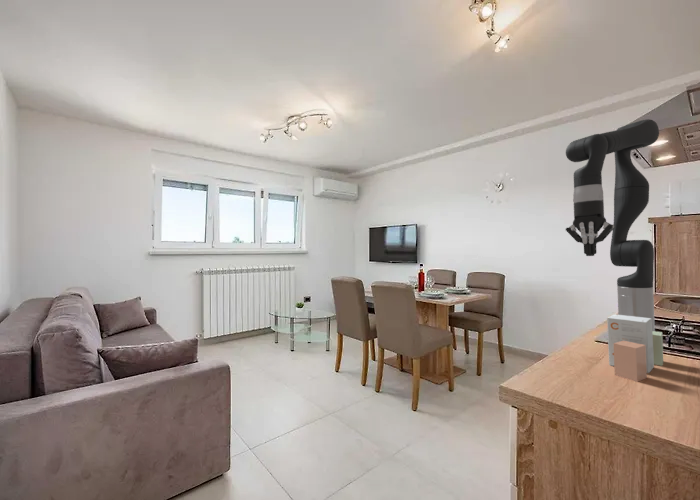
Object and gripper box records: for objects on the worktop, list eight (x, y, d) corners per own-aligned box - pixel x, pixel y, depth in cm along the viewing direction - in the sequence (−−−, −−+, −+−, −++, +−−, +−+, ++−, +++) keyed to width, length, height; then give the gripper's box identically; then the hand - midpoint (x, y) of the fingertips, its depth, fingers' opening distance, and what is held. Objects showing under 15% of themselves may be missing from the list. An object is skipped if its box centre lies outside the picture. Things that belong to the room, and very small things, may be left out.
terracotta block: (624, 371, 81) (623, 340, 81) (646, 377, 77) (645, 345, 76) (614, 375, 79) (613, 343, 79) (637, 381, 75) (635, 348, 75)
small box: (654, 367, 82) (652, 317, 82) (649, 374, 79) (647, 322, 78) (615, 359, 89) (613, 313, 89) (608, 365, 85) (606, 317, 85)
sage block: (641, 357, 89) (640, 329, 89) (663, 361, 86) (662, 332, 86) (639, 361, 86) (638, 332, 86) (662, 366, 83) (661, 335, 83)
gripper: (619, 198, 95) (621, 255, 95) (569, 204, 106) (571, 255, 107) (609, 196, 91) (611, 256, 91) (559, 203, 102) (561, 256, 103)
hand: (590, 255), depth 99 cm, fingers closed
